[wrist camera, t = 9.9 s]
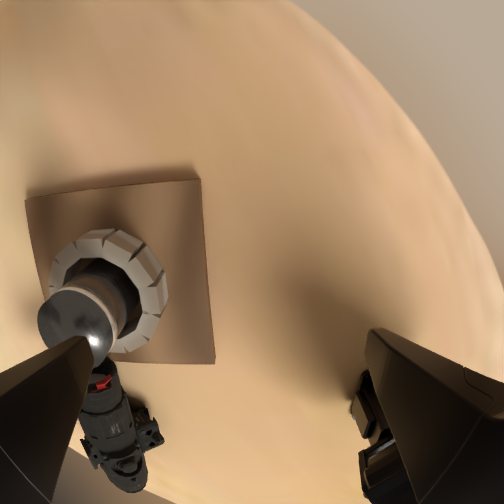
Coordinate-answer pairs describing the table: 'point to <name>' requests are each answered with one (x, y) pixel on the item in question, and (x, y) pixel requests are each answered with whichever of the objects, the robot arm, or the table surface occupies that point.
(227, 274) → the table surface
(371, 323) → the table surface
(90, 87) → the table surface
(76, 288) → the lens
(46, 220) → the mount plate
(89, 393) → the night vision scope
